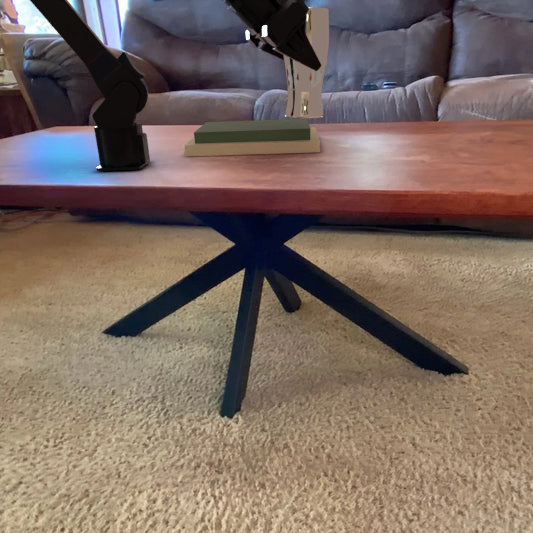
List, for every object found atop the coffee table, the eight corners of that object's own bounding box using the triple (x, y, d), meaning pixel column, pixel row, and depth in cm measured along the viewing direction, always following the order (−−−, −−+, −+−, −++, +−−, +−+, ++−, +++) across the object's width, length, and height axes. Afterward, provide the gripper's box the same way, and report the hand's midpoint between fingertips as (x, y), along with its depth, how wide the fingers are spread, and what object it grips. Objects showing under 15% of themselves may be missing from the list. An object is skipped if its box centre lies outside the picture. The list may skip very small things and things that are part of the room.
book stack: (185, 156, 83) (183, 134, 82) (201, 140, 98) (199, 121, 97) (320, 152, 82) (320, 129, 81) (315, 136, 97) (315, 117, 96)
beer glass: (316, 114, 84) (319, 12, 78) (333, 117, 77) (338, 7, 72) (275, 115, 82) (276, 11, 76) (290, 119, 75) (291, 6, 70)
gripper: (292, -78, 61) (374, 22, 67) (263, -50, 78) (330, 29, 84) (231, -5, 63) (315, 87, 69) (215, 8, 80) (284, 81, 86)
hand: (312, 68), depth 77 cm, fingers closed on beer glass, 6 cm apart
